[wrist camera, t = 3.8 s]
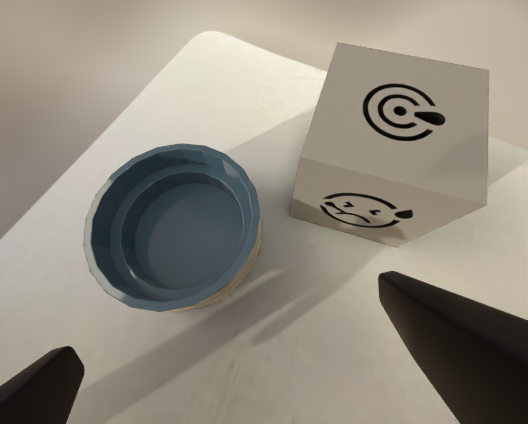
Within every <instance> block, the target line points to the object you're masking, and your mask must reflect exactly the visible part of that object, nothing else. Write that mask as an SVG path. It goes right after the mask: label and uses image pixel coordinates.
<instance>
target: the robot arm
mask: <svg viewBox="0 0 528 424" xmlns="http://www.w3.org/2000/svg"><path fill="white" fill-rule="evenodd" d="M378 285H379V299H380V302H381V304H382V306H383V308H384V310H385V311H386V313H387V315H388V316H389V318H390V320H391V322H392V323H393V325H394V327H395V328H396V330H397V332H398V334H399V335H400V337H401V339H402V340H403V342H404V344H405V346H406V347H407V349H408V351H409V352H410V354H411V355H412V357H413V358H414V360H415V361H416V363H417V364H418V366H419V367H420V368H421V370H422V371H423V373H424V374H425V375H426V377H427V378H428V380H429V381H430V382H431V384H432V385H433V387H434V388H435V389H436V391H437V392H438V393H439V395H440V396H441V398H442V399H443V400H444V402H445V403H446V405H447V406H448V407H449V409H450V410H451V412H452V413H453V414H454V416H455V417H456V419H457V420H458V421H459V423H460V424H528V320H525V319H523V318H520V317H517V316H515V315H512V314H509V313H506V312H504V311H501V310H498V309H496V308H493V307H490V306H487V305H485V304H482V303H479V302H477V301H474V300H471V299H468V298H466V297H463V296H460V295H458V294H455V293H452V292H449V291H447V290H444V289H441V288H439V287H436V286H433V285H430V284H428V283H425V282H422V281H420V280H417V279H414V278H412V277H409V276H406V275H403V274H401V273H398V272H395V271H389V272H385V273H381V274H380V275H379V277H378ZM84 372H85V370H84V365H83V363H82V362H81V360H80V358H79V357H78V355H77V354H76V352H75V350H74V349H73V348H72V347H70V346H65V347H61V348H56V349H53V350H51V351H50V352H48V353H47V354H45V355H44V356H43V357H41V358H40V359H38V360H37V361H36V362H34V363H33V364H31V365H30V366H28V367H27V368H26V369H24V370H23V371H21V372H20V373H19V374H17V375H16V376H14V377H13V378H11V379H10V380H9V381H7V382H6V383H4V384H3V385H1V386H0V424H66V422H67V420H68V417H69V414H70V412H71V409H72V406H73V403H74V401H75V398H76V395H77V393H78V390H79V387H80V384H81V382H82V379H83V376H84Z"/></svg>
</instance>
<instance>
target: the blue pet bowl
mask: <svg viewBox="0 0 528 424" xmlns="http://www.w3.org/2000/svg"><path fill="white" fill-rule="evenodd" d="M261 236H262V224H261V217H260V211H259V205H258V200H257V195H256V190H255V188H254V186H253V184H252V183H251V181H250V179H249V177H248V176H247V174H246V172H245V171H244V169H243V168H242V167H240V166H239V165H238V164H237V163H236V162H234V161H233V160H232V159H231V158H230V157H229V156H227V155H226V154H224V153H222V152H219V151H217V150H214V149H212V148H209V147H207V146H203V145H192V144H174V145H168V146H163V147H157V148H154V149H152V150H150V151H148V152H145V153H143V154H141V155H138V156H136V157H134V158H132V159H131V160H130V161H128V162H127V163H126V164H124V165H123V166H122V167H120V168H119V169H118V170H117V171H115V172H114V173H113V174H112V175H111V176H110V177H109V179H108V180H107V181H106V183H105V184H104V185H103V186H102V188H101V189H100V190H99V191H98V193H97V194H96V195H95V198H94V200H93V203H92V205H91V207H90V210H89V212H88V215H87V217H86V221H85V232H84V243H83V245H84V250H85V254H86V258H87V262H88V266H89V269H90V272H91V273H92V275H93V276H94V277H95V279H96V280H97V281H98V283H99V284H100V285H101V287H102V288H103V289H104V291H105V292H106V293H107V294H109V295H111V296H112V297H114V298H116V299H117V300H119V301H121V302H122V303H124V304H126V305H128V306H129V307H132V308H138V309H145V310H151V311H158V312H166V311H182V310H189V309H194V308H199V307H204V306H208V305H210V304H212V303H214V302H216V301H217V300H219V299H221V298H223V297H225V296H226V295H228V294H230V293H231V292H232V291H233V290H234V289H235V288H236V287H237V286H238V285H239V284H240V283H241V282H242V281H243V280H244V279H245V278H246V277H247V276H248V274H249V272H250V270H251V268H252V266H253V264H254V262H255V260H256V258H257V256H258V254H259V250H260V243H261Z"/></svg>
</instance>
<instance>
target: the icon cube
mask: <svg viewBox="0 0 528 424" xmlns="http://www.w3.org/2000/svg"><path fill="white" fill-rule="evenodd" d="M488 106H489V70H485V69H480V68H474V67H469V66H464V65H458V64H453V63H447V62H442V61H436V60H431V59H426V58H420V57H415V56H410V55H404V54H398V53H393V52H388V51H382V50H377V49H372V48H366V47H361V46H355V45H350V44H345V43H339V42H337V45H336V48H335V51H334V54H333V58H332V60H331V63H330V67H329V70H328V73H327V76H326V79H325V82H324V85H323V88H322V91H321V94H320V97H319V100H318V103H317V106H316V109H315V112H314V116H313V119H312V122H311V125H310V128H309V131H308V134H307V137H306V140H305V143H304V146H303V149H302V152H301V155H300V160H299V165H298V171H297V176H296V182H295V187H294V193H293V198H292V203H291V209H290V214H289V216H292V217H295V218H298V219H302V220H305V221H308V222H312V223H315V224H319V225H322V226H325V227H329V228H332V229H336V230H339V231H342V232H346V233H349V234H352V235H356V236H359V237H363V238H366V239H369V240H373V241H376V242H379V243H383V244H386V245H390V246H393V247H398V246H400V245H402V244H404V243H406V242H408V241H411V240H413V239H415V238H417V237H419V236H421V235H424V234H426V233H428V232H430V231H432V230H434V229H436V228H439V227H441V226H443V225H445V224H447V223H449V222H452V221H454V220H456V219H458V218H460V217H462V216H464V215H467V214H469V213H471V212H473V211H475V210H477V209H480V208H482V207H484V206H486V205H487V169H488V108H489V107H488Z"/></svg>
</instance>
